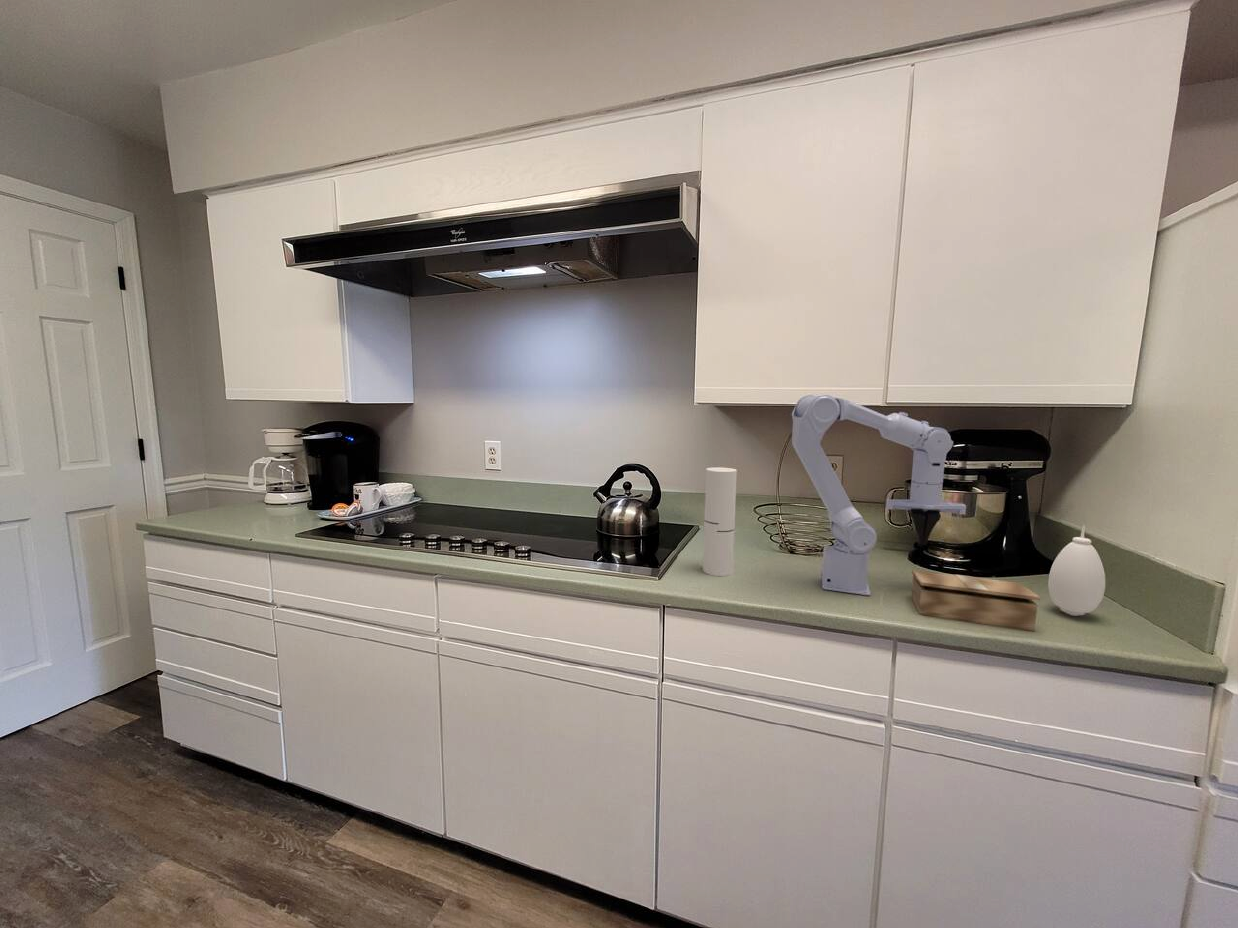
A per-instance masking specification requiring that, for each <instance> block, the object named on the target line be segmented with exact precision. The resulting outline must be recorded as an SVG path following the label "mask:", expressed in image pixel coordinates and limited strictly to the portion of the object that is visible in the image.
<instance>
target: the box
mask: <svg viewBox="0 0 1238 928" xmlns="http://www.w3.org/2000/svg"><path fill="white" fill-rule="evenodd" d="M911 584H912V585H911V594H910V598H911V600H912V602H913V604H914V606H915V608H916V610H917V613H918V614H919V615H920V616H928V617H935V618H941V619H949V620H953V621H954V620H955V621H960V622H961V621H962V622H968V623H974V624H975V623H976V624H980V625H989V626H994V627H995V626H996V627H1001V628H1008V629H1009V628H1010V629H1015V630H1023V631H1028V632H1035V628H1036V619H1037V614H1038V613H1037V612H1038V604H1037V603H1036V602H1035V601H1034V600H1032V599H1024V598H1016V597H1008V596H1001V595H993V594H985V593H977V592H969V591H961V590H954V589H946V588H938V587H930V586H922V585H921V584H920V583H919V582H918V580H917V579H916V578H915V576H914V575H913V574H912V583H911Z"/></svg>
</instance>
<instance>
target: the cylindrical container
mask: <svg viewBox="0 0 1238 928" xmlns="http://www.w3.org/2000/svg"><path fill="white" fill-rule="evenodd" d="M737 473H738V469H736V468H732V467H731V468H730V467H707V468H705V493H704V494H705V495H704V496H705V497H704V525H703V526H704V527H703V528H704V529H703V556H702V557H703V559H702V560H703V561H702V571H703V572H704V573H705V574H707V575H709V576H714V577H715V576H716V577H728V576H731V575H733V573H734V550H735V548H734V547H735V527H736V525H735V523H736V503H737V501H736V500H737V476H738V475H737Z"/></svg>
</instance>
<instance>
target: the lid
mask: <svg viewBox="0 0 1238 928" xmlns="http://www.w3.org/2000/svg"><path fill="white" fill-rule="evenodd" d="M911 573H912V576H913V575H914V576H915V578H916V579H917V580H918V582H919V583H920V584H921V585H922V586H930V587H938V588H946V589H954V590H961V591H969V592H977V593H985V594H993V595H1001V596H1008V597H1016V598H1024V599H1031V600H1032V601H1041V596H1039V595H1038V594H1037V593H1035V592H1034V591H1032V590H1031V589H1030V588H1028V587H1026V586H1025V585H1023V584H1022V583H1020V582H1015V581H1008V580H999V579H991V578H984V577H982V578H981V577H975V576H970V575H964V574H963V575H962V574H950V573H949V574H948V573H940V572H934V571H933V572H932V571H925V570H916V569H912V570H911Z"/></svg>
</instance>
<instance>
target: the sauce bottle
mask: <svg viewBox="0 0 1238 928" xmlns="http://www.w3.org/2000/svg"><path fill="white" fill-rule="evenodd" d="M1085 530H1086V527H1085V525H1084V524H1083V526H1082V529H1081V533H1080V536H1074V537H1073V538H1072V539H1071V540H1072V541H1071V542H1069V543H1068V544H1067V545H1065V546H1064V547H1063V548H1062V549H1061V550H1060V552H1059V553H1058V554H1057V556H1056V558H1055V559H1054V561H1053V563H1052V565H1051V568H1050V571H1049V575H1048V585H1047V586H1048V592H1049V596H1050V598H1051V600H1052V602H1053V603H1054V605H1056V606H1057V607H1059V610H1060V611H1062V612H1064V614H1067V615H1068V614H1069V615H1068V616H1071V617H1078V616H1084V615H1086V614H1087V613H1092V612H1093V611H1094V610H1096V609H1097V607H1098V606H1099V605H1100V603H1101V602H1102V600H1103V598H1104V594H1105V591H1106V574H1105V570H1104V569H1105V568H1104V566H1103V562H1102V560H1101V557H1100V555H1099V553H1098V551H1097V550H1096V548H1095V547H1094V546H1093V545H1092V540H1091V539H1090V538H1086V537H1085Z"/></svg>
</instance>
